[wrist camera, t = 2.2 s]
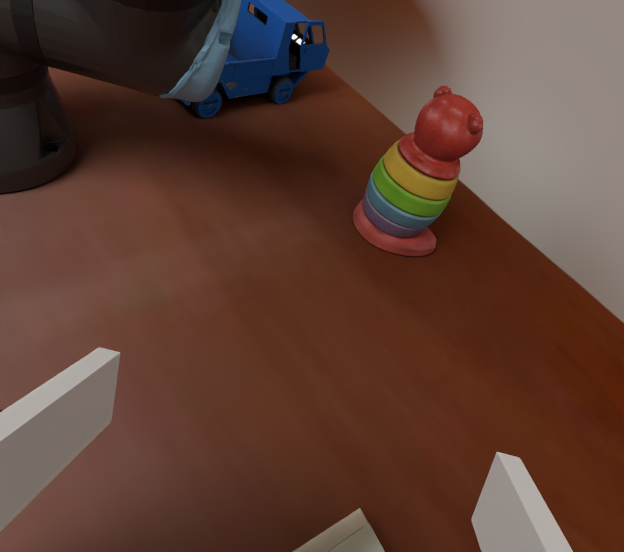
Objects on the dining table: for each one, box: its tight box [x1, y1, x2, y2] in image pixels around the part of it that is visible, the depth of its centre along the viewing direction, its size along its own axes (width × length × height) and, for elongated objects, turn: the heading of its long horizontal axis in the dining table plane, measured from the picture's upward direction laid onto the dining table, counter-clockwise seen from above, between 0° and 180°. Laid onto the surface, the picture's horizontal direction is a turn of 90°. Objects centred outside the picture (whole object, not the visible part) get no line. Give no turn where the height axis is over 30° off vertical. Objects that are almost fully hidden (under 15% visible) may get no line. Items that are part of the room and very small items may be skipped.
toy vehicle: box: [181, 0, 329, 118], centre depth 63 cm, size 25×12×12 cm, turn 135°
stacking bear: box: [353, 86, 483, 256], centre depth 50 cm, size 11×10×18 cm
